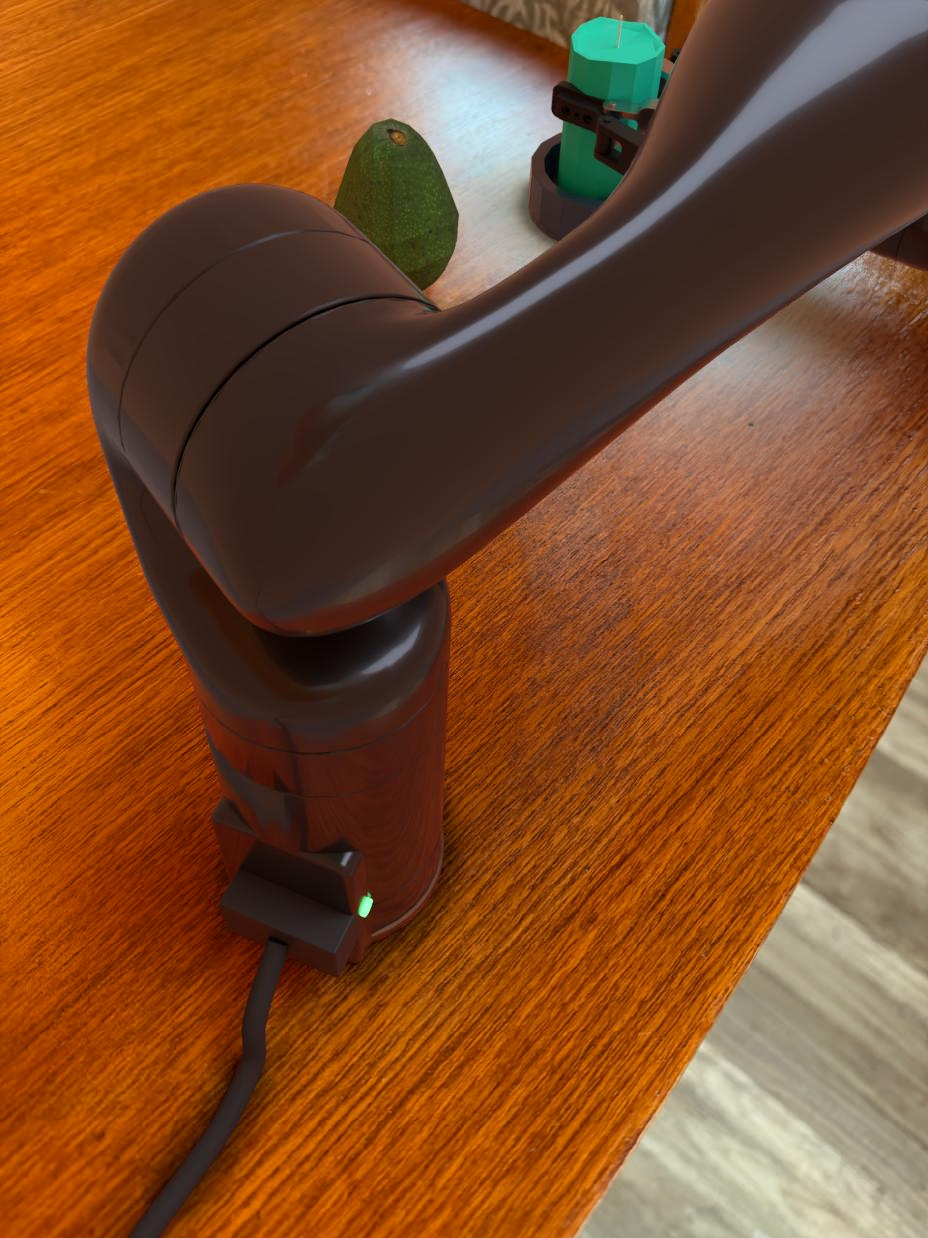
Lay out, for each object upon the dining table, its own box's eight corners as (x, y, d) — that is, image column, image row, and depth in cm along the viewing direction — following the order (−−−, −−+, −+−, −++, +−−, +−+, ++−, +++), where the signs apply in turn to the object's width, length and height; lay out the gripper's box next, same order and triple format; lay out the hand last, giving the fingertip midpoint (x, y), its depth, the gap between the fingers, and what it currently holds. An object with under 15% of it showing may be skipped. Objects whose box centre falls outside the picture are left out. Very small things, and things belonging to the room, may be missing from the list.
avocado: (333, 326, 78) (322, 159, 68) (339, 250, 82) (329, 84, 73) (456, 329, 78) (462, 163, 68) (456, 253, 83) (461, 87, 73)
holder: (634, 265, 82) (642, 221, 80) (508, 228, 84) (511, 184, 82) (675, 191, 88) (684, 148, 85) (555, 158, 90) (559, 115, 87)
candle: (636, 217, 82) (664, 46, 73) (550, 204, 83) (566, 33, 73) (646, 167, 86) (674, -2, 76) (563, 155, 86) (580, -14, 77)
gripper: (874, 56, 75) (634, -22, 80) (779, 165, 68) (522, 71, 73) (841, 164, 81) (619, 84, 86) (750, 275, 74) (515, 180, 79)
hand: (576, 79), depth 80 cm, fingers closed on candle, 4 cm apart
